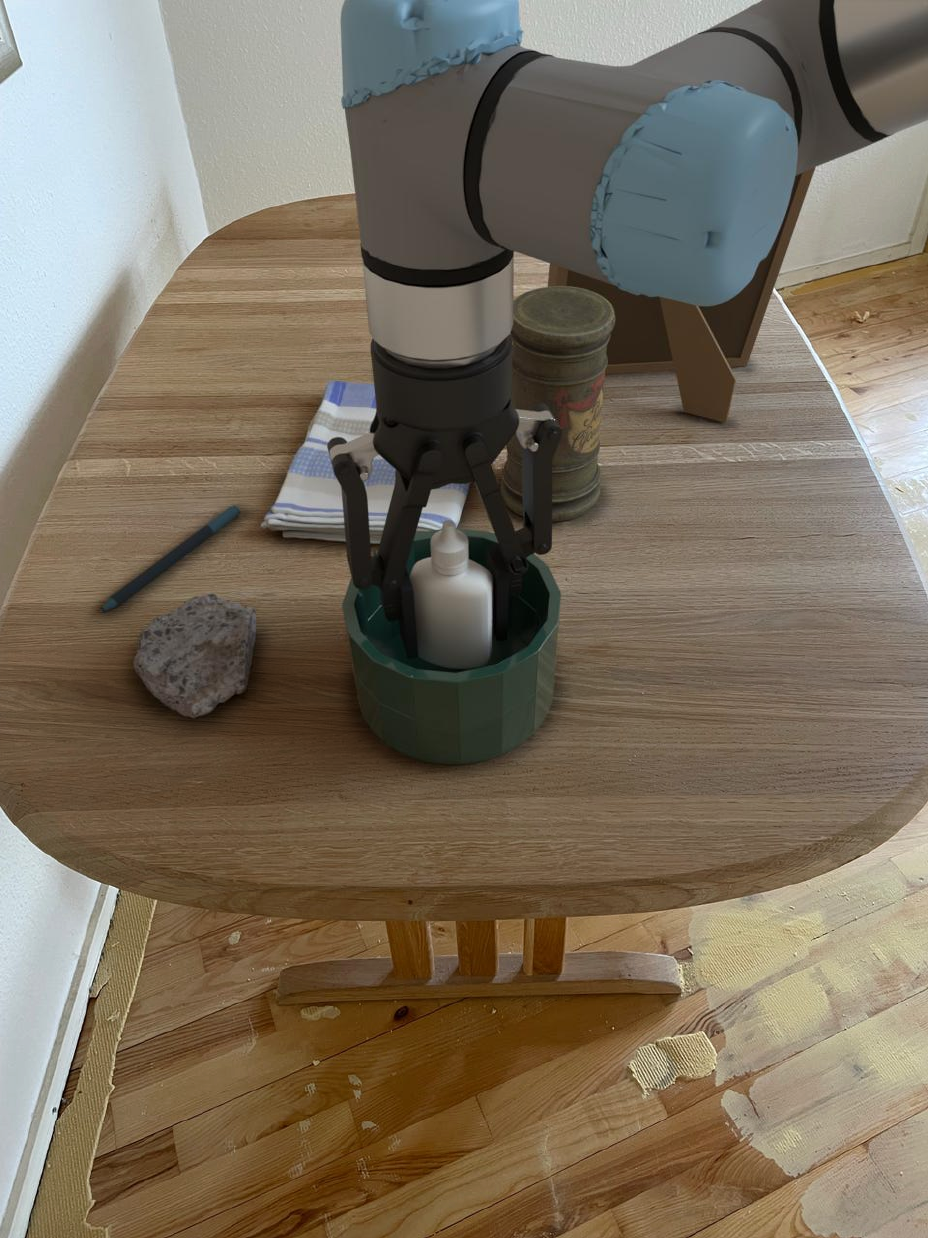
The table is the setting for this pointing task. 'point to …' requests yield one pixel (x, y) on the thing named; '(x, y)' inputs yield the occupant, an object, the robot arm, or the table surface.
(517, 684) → the pot
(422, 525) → the dish towel
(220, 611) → the rock
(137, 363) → the table surface
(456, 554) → the eye dropper bottle
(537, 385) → the container
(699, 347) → the photo frame
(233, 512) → the pen
